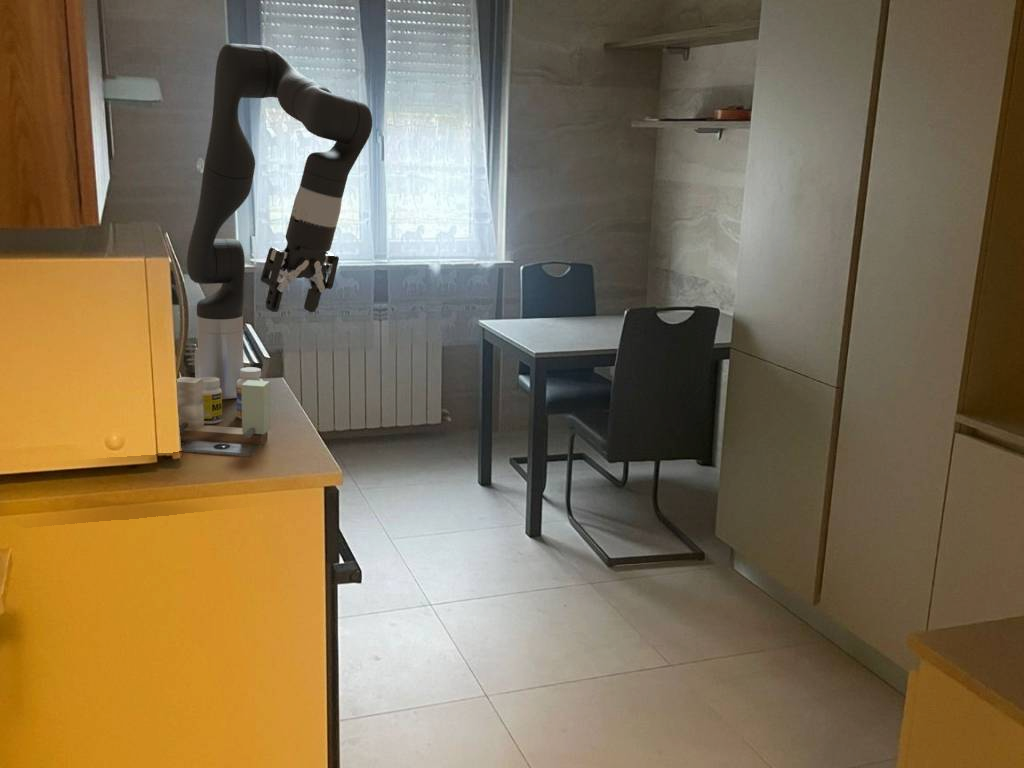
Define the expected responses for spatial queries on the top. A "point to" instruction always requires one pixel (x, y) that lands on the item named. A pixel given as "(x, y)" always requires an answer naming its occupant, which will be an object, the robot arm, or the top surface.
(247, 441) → the rail
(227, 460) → the top surface
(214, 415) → the supplement bottle
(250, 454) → the hole plate
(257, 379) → the pill bottle
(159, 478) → the top surface
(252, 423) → the slide leg
